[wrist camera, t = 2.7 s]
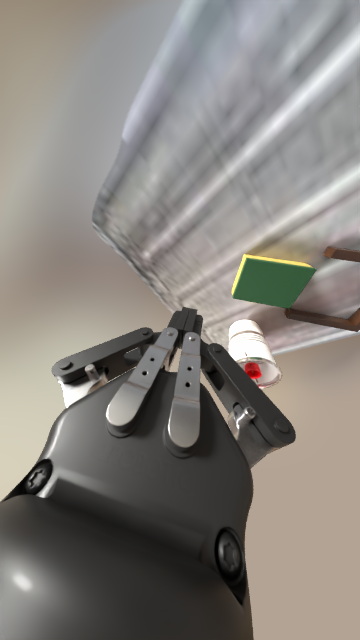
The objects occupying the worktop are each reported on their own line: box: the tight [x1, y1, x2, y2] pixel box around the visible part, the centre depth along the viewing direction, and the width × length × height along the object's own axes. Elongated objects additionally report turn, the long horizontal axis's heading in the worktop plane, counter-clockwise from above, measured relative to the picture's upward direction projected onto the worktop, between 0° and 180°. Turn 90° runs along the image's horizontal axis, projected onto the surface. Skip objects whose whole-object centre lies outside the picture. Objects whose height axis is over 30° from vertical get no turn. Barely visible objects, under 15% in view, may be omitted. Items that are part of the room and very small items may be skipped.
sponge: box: [232, 254, 316, 309], centre depth 25 cm, size 7×10×3 cm
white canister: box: [229, 320, 282, 389], centre depth 29 cm, size 10×8×12 cm
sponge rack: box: [284, 247, 360, 332], centre depth 24 cm, size 12×12×2 cm
